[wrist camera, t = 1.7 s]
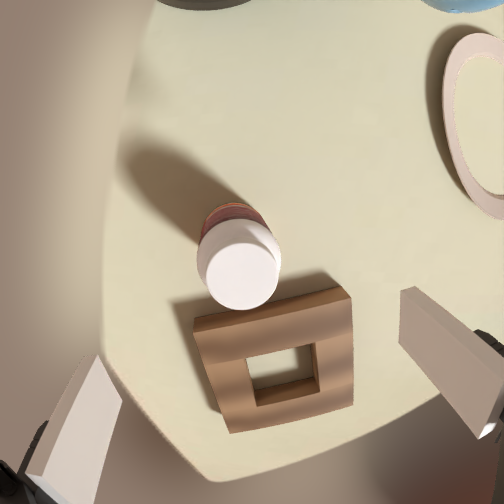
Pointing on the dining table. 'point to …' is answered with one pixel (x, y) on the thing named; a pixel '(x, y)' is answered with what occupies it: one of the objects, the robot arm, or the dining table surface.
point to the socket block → (272, 340)
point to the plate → (459, 55)
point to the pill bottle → (238, 257)
